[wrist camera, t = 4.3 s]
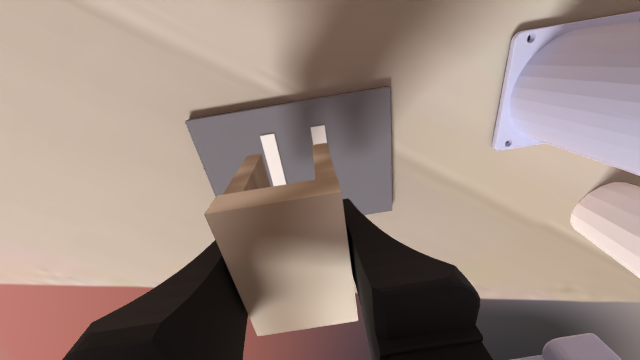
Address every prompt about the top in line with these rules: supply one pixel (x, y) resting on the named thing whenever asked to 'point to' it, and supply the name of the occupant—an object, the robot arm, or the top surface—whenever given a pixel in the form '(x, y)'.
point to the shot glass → (612, 222)
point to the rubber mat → (306, 144)
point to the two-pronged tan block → (286, 246)
